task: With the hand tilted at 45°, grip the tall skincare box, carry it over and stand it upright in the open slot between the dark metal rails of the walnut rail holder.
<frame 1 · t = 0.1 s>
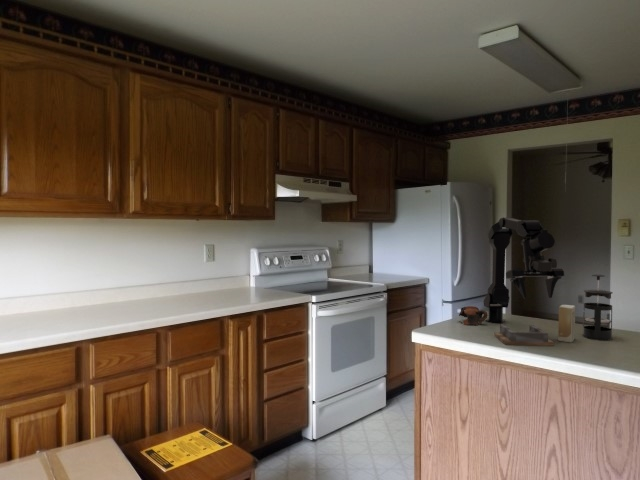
hand: (537, 298, 160), 15 cm above the table, tool pointing down, fingers open, 9 cm apart
french press: (597, 337, 168), on the table
pottery mug: (473, 324, 191), on the table
rail holder: (522, 340, 162), on the table
skincare box: (566, 340, 163), on the table
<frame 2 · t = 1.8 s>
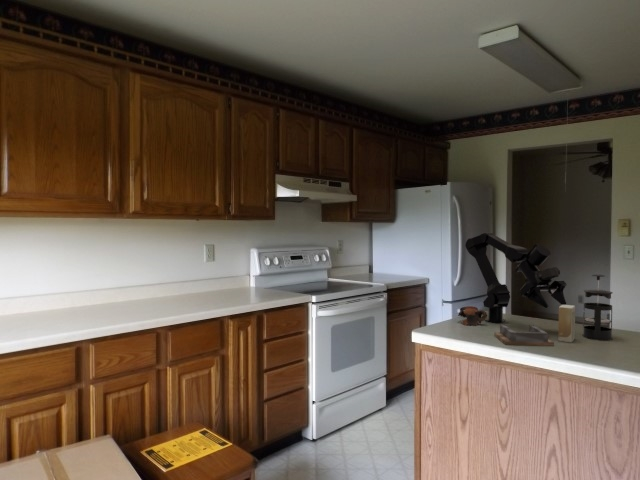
hand: (556, 306, 167), 11 cm above the table, tool tilted 45°, fingers open, 9 cm apart
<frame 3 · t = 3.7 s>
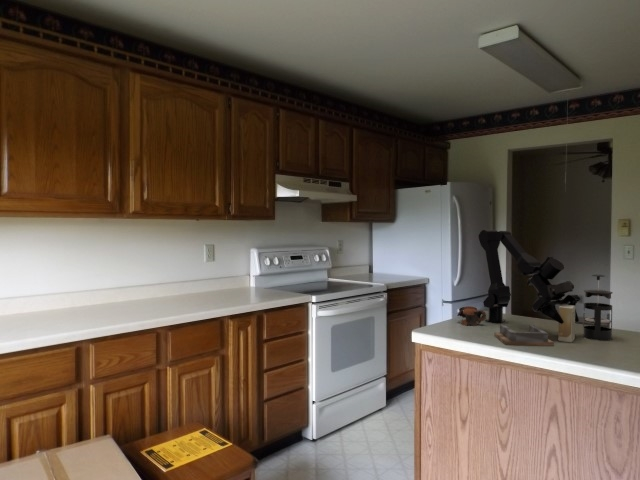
hand: (570, 322, 162), 7 cm above the table, tool tilted 45°, fingers closed on skincare box, 7 cm apart
skincare box: (566, 340, 163), on the table, touching gripper
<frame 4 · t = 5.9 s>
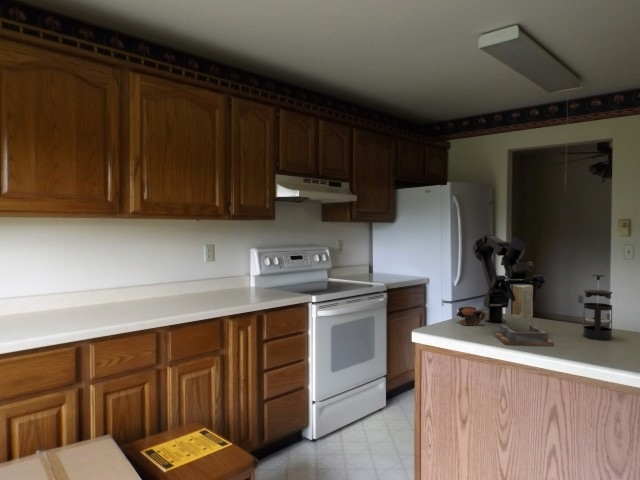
hand: (524, 300, 168), 13 cm above the table, tool tilted 45°, fingers closed on skincare box, 7 cm apart
skincare box: (522, 318, 169), point 6 cm above the table, touching gripper
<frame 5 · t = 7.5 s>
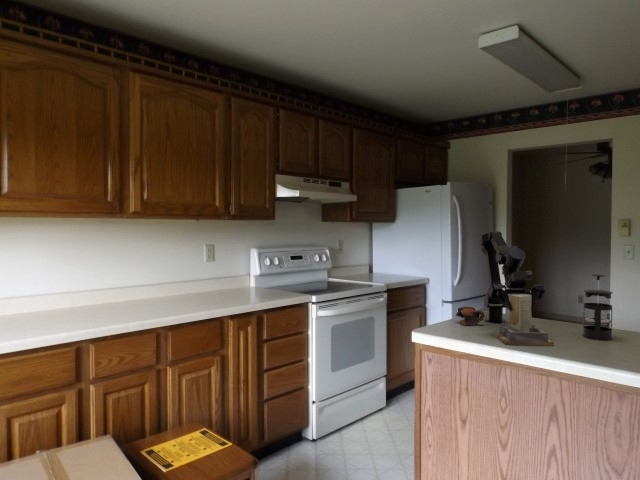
hand: (522, 310, 163), 10 cm above the table, tool tilted 45°, fingers closed on skincare box, 7 cm apart
skincare box: (520, 328, 165), point 4 cm above the table, touching gripper
when the fingers open (9 cm above the table, at t = 8.6 s): skincare box drops 1 cm, resting on rail holder.
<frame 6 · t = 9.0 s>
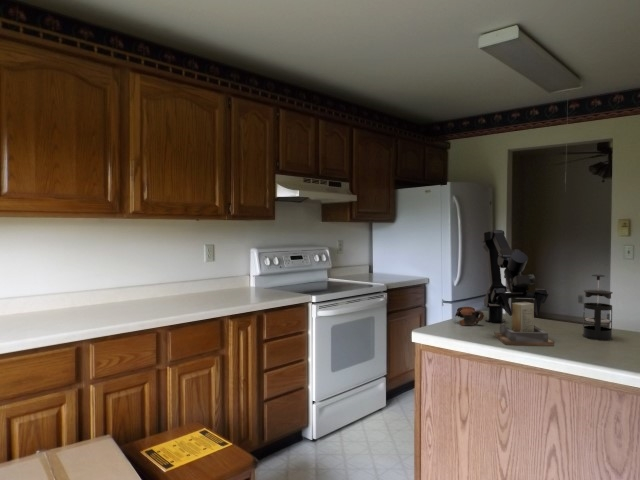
hand: (524, 315, 160), 9 cm above the table, tool tilted 45°, fingers open, 9 cm apart
skincare box: (522, 337, 162), point 1 cm above the table, touching rail holder
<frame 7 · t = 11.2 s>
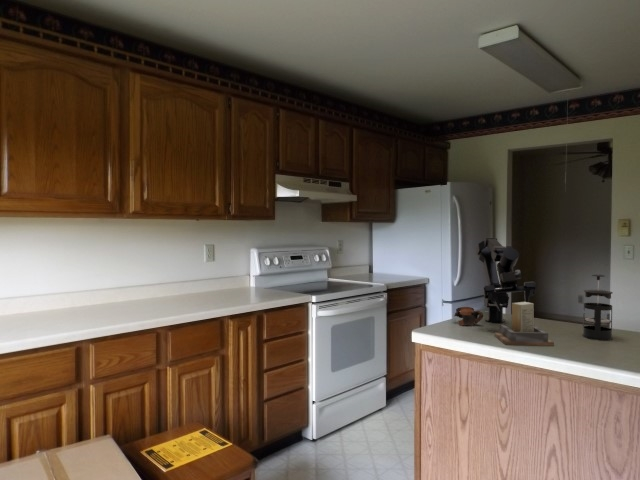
hand: (513, 309, 170), 9 cm above the table, tool tilted 40°, fingers open, 9 cm apart
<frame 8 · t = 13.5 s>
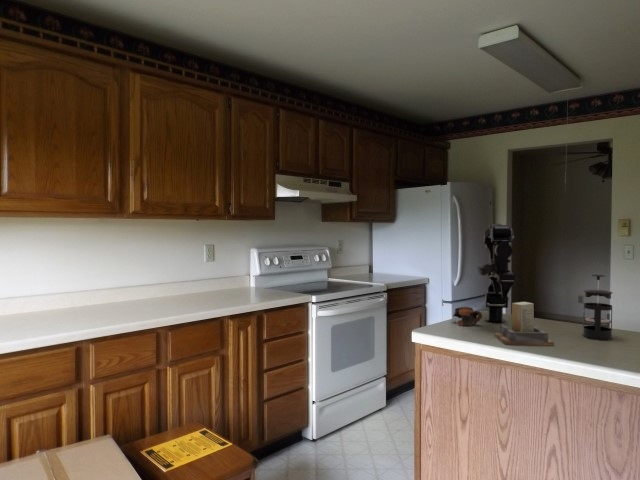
hand: (500, 296, 180), 13 cm above the table, tool pointing down, fingers open, 9 cm apart
at the end: skincare box 0.2 cm off-centre on the rail holder, point 1.0 cm above the rail holder's base; skincare box tilted 0°; the gripper is holding nothing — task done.
